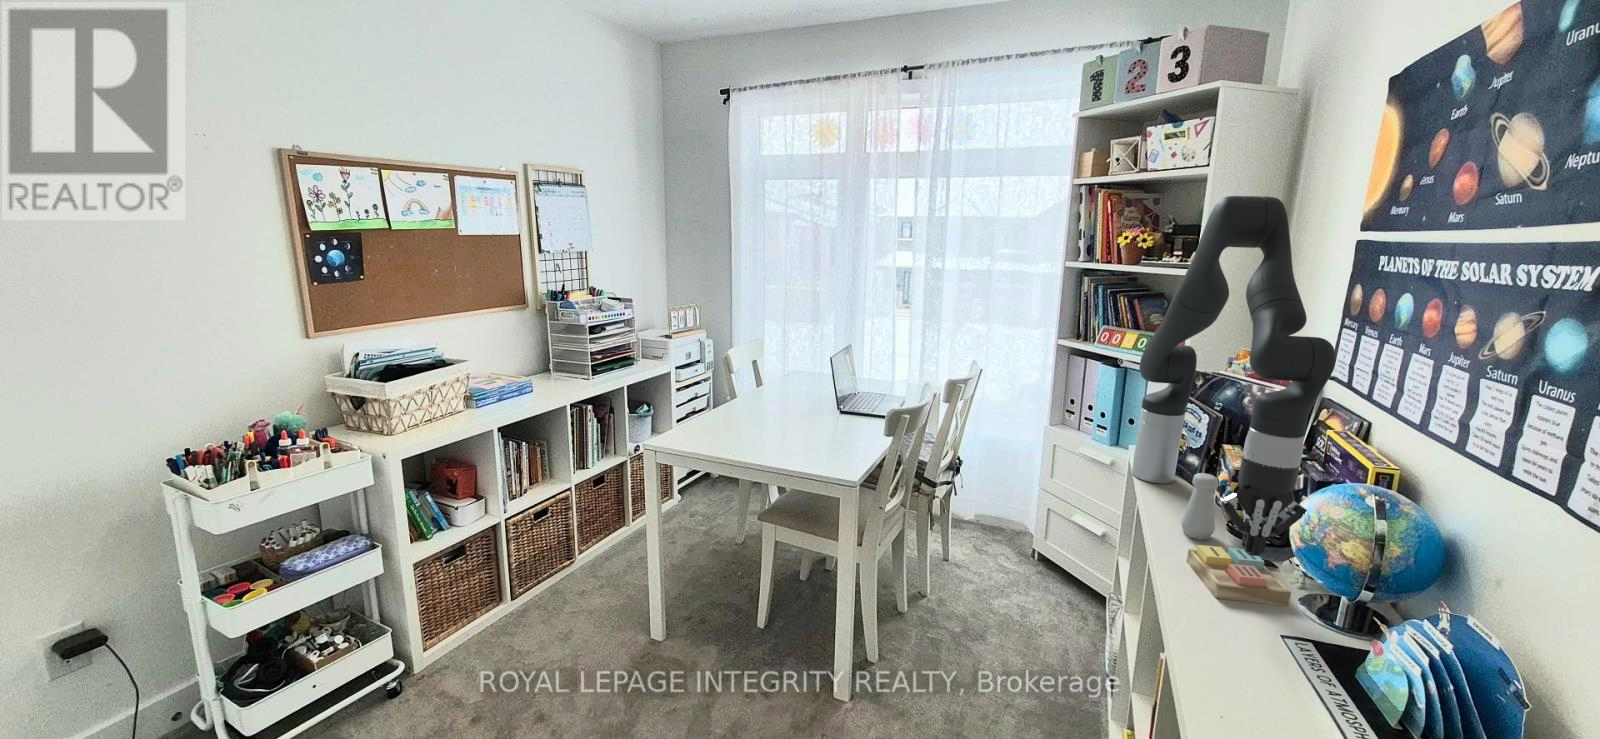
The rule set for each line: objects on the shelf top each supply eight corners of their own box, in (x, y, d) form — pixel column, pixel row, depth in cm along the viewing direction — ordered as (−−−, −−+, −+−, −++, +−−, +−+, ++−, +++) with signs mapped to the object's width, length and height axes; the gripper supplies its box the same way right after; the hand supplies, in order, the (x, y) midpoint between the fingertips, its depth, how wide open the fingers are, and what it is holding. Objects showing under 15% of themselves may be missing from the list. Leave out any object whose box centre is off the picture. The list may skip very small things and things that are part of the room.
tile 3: (1226, 576, 109) (1228, 563, 109) (1251, 578, 109) (1254, 565, 108) (1237, 589, 105) (1240, 576, 105) (1263, 591, 105) (1266, 578, 104)
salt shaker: (1219, 540, 124) (1231, 480, 121) (1197, 544, 123) (1208, 483, 120) (1194, 526, 130) (1205, 468, 127) (1172, 530, 128) (1182, 471, 125)
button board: (1186, 561, 117) (1188, 549, 116) (1251, 567, 115) (1254, 555, 114) (1215, 598, 105) (1218, 585, 105) (1288, 605, 104) (1291, 592, 103)
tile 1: (1195, 556, 115) (1197, 544, 115) (1218, 558, 115) (1221, 546, 114) (1204, 568, 112) (1207, 555, 111) (1229, 570, 111) (1232, 558, 110)
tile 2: (1226, 559, 114) (1228, 547, 114) (1250, 561, 114) (1252, 549, 113) (1236, 571, 111) (1239, 558, 110) (1261, 573, 110) (1264, 561, 109)
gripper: (1302, 452, 104) (1282, 546, 108) (1215, 446, 106) (1198, 538, 110) (1331, 469, 97) (1308, 569, 101) (1237, 462, 99) (1218, 561, 103)
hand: (1251, 553), depth 105 cm, fingers closed
